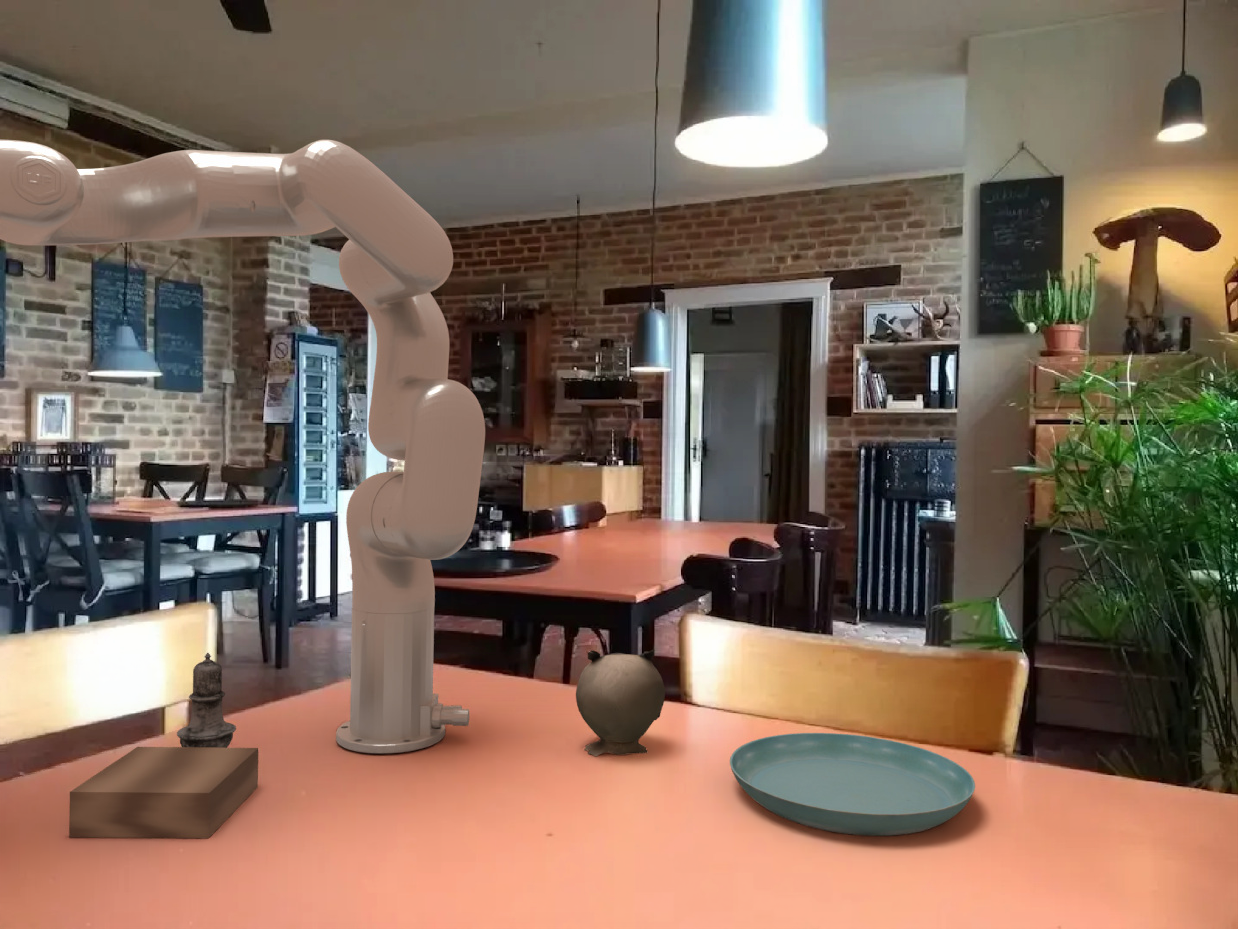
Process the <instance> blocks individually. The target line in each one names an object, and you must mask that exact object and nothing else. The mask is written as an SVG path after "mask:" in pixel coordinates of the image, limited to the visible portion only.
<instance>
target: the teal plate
mask: <svg viewBox="0 0 1238 929" xmlns="http://www.w3.org/2000/svg"><path fill="white" fill-rule="evenodd" d="M729 766H730V768H731V771H732V774H733V775H734V779H735V780H736V781H737V783H738V784H739V786H740V787H741V788H742V789H743V791H745V793H746V794H747V795H748V796H749V797H750V798H752V799H753V800H754V801H755V802H756V803H758V804H759V805H760V806H762V807H763V808H765V809H766V810H767V811H769V812H771V813H773V814H775V815H777V816H779V817H781V818H783V819H785V820H788V821H790V822H794V823H797V824H799V825H803V826H805V827H808V828H809V827H810V828H812V829H813V828H814V829H818V830H821V831H825V832H826V831H827V832H833V833H838V834H839V833H840V834H846V835H855V836H867V837H869V836H871V837H877V836H878V837H885V836H887V837H889V836H891V837H892V836H900V835H902V836H903V835H909V834H915V833H919V832H924V831H927V830H930V829H932V828H935V827H937V826H940V825H942V824H943V823H945V822H948V821H949V820H951V819H952V818H954V817H955V816H956V815H958V813H960V812H961V811H962V810H963V809H964V808H965V807H966V806H967V804H968V803H969V801H970V800H971V798H972V797H973V795H974V792H975V790H976V783H975V780H974V778H973V776H972V775H971V774H970V772H969V771H968V770H967V769H965V768H964V767H963V766H961V765H960V764H959V763H957V762H955V761H953V760H952V759H949V758H948V757H946V756H943V755H941V754H939V753H937V752H933V751H931V750H927V749H926V748H921V747H919V746H915V745H911V744H907V743H902V742H899V741H894V740H889V739H885V738H878V737H872V736H867V735H859V734H849V733H847V734H846V733H833V732H832V733H831V732H830V733H829V732H828V733H827V732H800V733H799V732H798V733H785V734H777V735H772V736H771V735H770V736H766V737H762V738H758V739H754V740H752V741H749V742H746V743H744V744H742V745H740V746H739V747H738V748H736V749H735V750H734V751H733V752H732V754H731V756H730V757H729Z"/></svg>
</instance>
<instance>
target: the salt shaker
mask: <svg viewBox="0 0 1238 929" xmlns="http://www.w3.org/2000/svg"><path fill="white" fill-rule="evenodd" d="M203 657H204V658H205V659H204V660H203V661H200V662H198V663H197V664H196V665H195V666H194V667H193V670H192V672H193V673H192V693H190V694H189V696H188V699H189V700H191V717H190V721H189V723H188V725H186V726H183V727H181V728H180V729H178V730H177V732H176V736H177V738H179V743H180V747H217V748H229V746H230V744H231V742H232V740H233V737H234V732H235V731H236V730H237V726H236V725H235V724H233V723H231V722H226V721H225V720H224V714H223V698H224V697H225V696H226V692H225V691H223V690H222V687H223V686H222V682H223V680H222V679H223V676H222V675H223V674H222V672H223V671H222V670H223V667H222V665H221V664H220V663H219V662H217V661H214V660H213V659H211V658H212V655H211V654H210V652H207V653H206V654H205V655H204V656H203Z"/></svg>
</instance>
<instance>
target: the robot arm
mask: <svg viewBox="0 0 1238 929" xmlns="http://www.w3.org/2000/svg"><path fill="white" fill-rule="evenodd" d="M334 228H336V229H337V230H338V231H339V232H340V233H341V234H343V236H345V237H346V238H347V239H348V240H347V241H346V242H345V243H344V245H343V247H341V250H340V254H339V256H338V267H339V268H338V269H339V273H340V276H341V278H342V281H343V283H344V285H345V286H346V288H347V289H348V291H349V292H350V293H351V294H352V295H353V296H354V297H355V298H356V299H357V300H358V301H359V303H361V305H362V307H364V309H365V310H366V312H367V313H368V315H369V316H370V318H371V321H372V323H373V326H374V329H375V335H376V358H375V368H374V373H373V383H372V389H371V390H372V391H371V392H372V393H371V398H370V399H371V400H370V406H369V412H368V413H369V415H368V423H367V424H368V425H367V431H368V436H369V440H370V442H371V444H372V446H373V447H374V448H375V450H377V452H378V453H380V454H382V455H383V456H385V457H387V458H389V459H394V460H397V461H403V462H404V465H403V466H404V467H403V471H385V472H384V471H383V472H380V473H375V474H373V475H371V476H368V477H366V479H364V480H363V481H361V483H359V484H358V485H357V487H356V488H355V489H354V491H353V492H352V494H351V496H350V498H349V501H348V502H347V508H346V518H345V520H346V522H345V523H346V533H347V540H348V546H349V552H350V561H351V574H352V575H351V576H352V585H351V587H352V590H351V592H352V595H351V597H352V599H351V600H352V601H351V602H352V604H351V605H352V606H351V633H350V634H351V644H350V645H351V646H350V650H351V652H350V653H351V654H350V699H349V700H350V701H349V702H350V705H349V707H350V710H349V713H350V714H349V720H348V721H346V722H344V723H342V724H341V725H339V726H338V728H337V729H336V731H335V732H336V734H335V736H336V737H335V739H336V743H337V744H338V745H339V746H340V747H342V748H344V749H347V750H350V751H354V752H358V753H365V754H382V755H383V754H398V753H404V752H412V751H417V750H422V749H426V748H428V747H430V746H433V745H435V744H437V743H439V742H440V741H441V740H442V739H443V738H444V737H445V734H446V725H447V726H449V725H451V726H454V727H455V726H456V727H457V726H458V727H459V726H460V727H461V726H462V727H468V726H469V723H470V709H469V708H463V707H462V705H459V704H458V705H444V704H443V703H441V702H440V703H439V693H434V692H433V691H434V644H435V641H434V640H435V638H434V637H435V602H436V598H435V595H436V591H435V590H436V589H435V578H434V572H433V566H432V562H431V561H436V560H437V561H438V560H443V559H445V558H449V557H451V556H453V555H455V553H457V552H458V551H460V549H462V548H463V546H464V545H465V544H466V543H467V541H468V539H469V537H470V536H471V533H472V531H473V528H474V524H475V522H476V521H475V520H476V516H477V511H478V510H477V508H478V503H479V494H480V493H479V492H480V486H481V477H482V470H483V468H482V467H483V460H484V451H485V440H486V424H485V423H486V422H485V418H484V413H483V409H482V407H481V404H480V403H479V400H478V399H477V397H476V395H475V394H474V393H473V391H471V390H470V389H469V388H468V387H467V386H466V385H464V384H462V383H461V382H459V381H457V380H453V379H448V378H449V377H448V375H449V359H450V358H449V357H450V333H449V328H448V325H447V322H446V318H445V317H444V314H443V312H442V309H441V308H440V306H439V304H438V303H437V301H436V299H435V298H434V297H433V294H431V292H433V291H436V290H437V289H438V288H440V287H441V286H442V285H444V283H445V282H446V281H447V279H449V276H450V275H451V272H452V270H453V265H454V254H453V253H454V252H453V248H452V245H451V241H450V238H449V237H448V236H447V235H448V234H447V233H446V232H445V230H444V229H443V228H442V226H441V225H440V224H439V223H438V221H436V219H434V217H432V216H431V214H429V212H428V211H426V210H425V209H424V208H423V207H422V206H421V205H420V204H419V203H418V202H416V201H415V200H414V199H413V198H412V197H411V196H410V195H409V194H408V193H406V192H405V191H404V190H403V189H402V188H401V187H400V186H399V185H398V184H397V183H395V181H394V180H392V179H391V178H390V177H389V176H388V175H386V173H385V172H383V171H382V170H381V169H380V168H379V167H378V166H376V165H375V164H374V163H373V162H371V161H370V160H369V159H368V158H367V157H365V156H364V155H363V154H361V153H360V152H358V151H357V150H355V149H354V148H352V147H351V146H349V145H347V144H345V143H343V142H340V141H337V140H332V139H319V140H318V139H317V140H316V141H313V142H310V143H309V144H306V145H305V146H303V147H301V148H299V149H297V150H296V151H294V152H291V153H268V152H266V153H265V152H243V151H242V152H241V151H239V152H238V151H220V150H201V149H184V150H176V151H171V152H170V151H169V152H165V153H161V154H158V155H154V156H152V157H148V158H146V159H145V158H144V159H142V160H139V161H136V162H132V163H127V164H122V165H115V166H108V167H100V168H99V167H97V168H77V167H76V166H75V164H74V163H73V162H72V161H71V160H70V159H69V158H68V157H67V156H66V155H64V154H63V153H61V152H59V151H57V150H56V149H54V148H51V147H49V146H47V145H44V144H41V143H37V142H33V141H31V142H30V141H27V140H26V141H24V140H14V139H0V240H2V241H4V242H7V243H9V244H10V243H11V244H14V245H21V246H78V245H81V246H84V245H85V246H86V245H104V244H118V243H120V244H121V243H133V242H134V243H135V242H151V241H152V242H157V241H159V242H160V241H161V242H162V241H176V240H177V241H178V240H186V239H196V238H198V239H203V238H229V237H231V238H234V237H238V238H239V237H240V238H241V237H297V236H299V237H300V236H302V237H303V236H311V235H318V234H321V233H323V232H326V231H329V230H332V229H334Z"/></svg>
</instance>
